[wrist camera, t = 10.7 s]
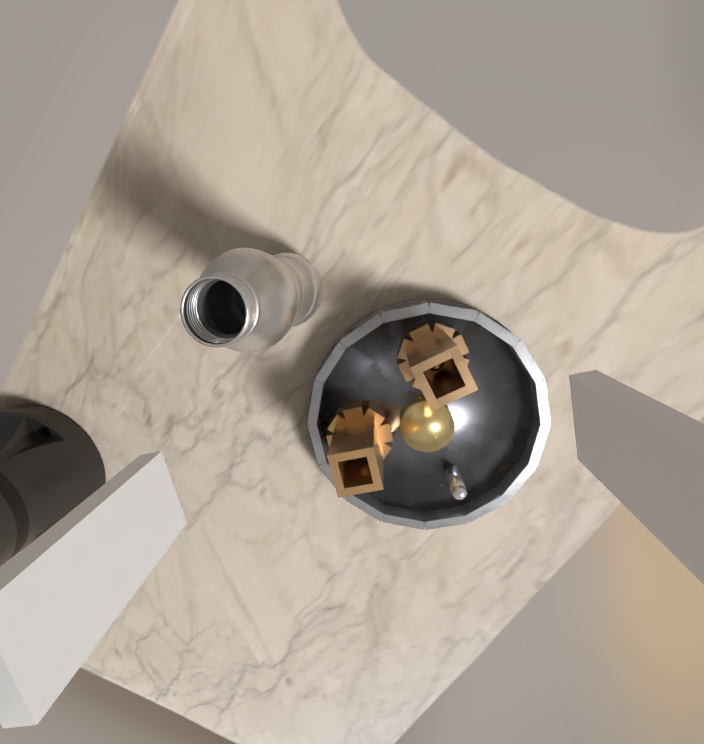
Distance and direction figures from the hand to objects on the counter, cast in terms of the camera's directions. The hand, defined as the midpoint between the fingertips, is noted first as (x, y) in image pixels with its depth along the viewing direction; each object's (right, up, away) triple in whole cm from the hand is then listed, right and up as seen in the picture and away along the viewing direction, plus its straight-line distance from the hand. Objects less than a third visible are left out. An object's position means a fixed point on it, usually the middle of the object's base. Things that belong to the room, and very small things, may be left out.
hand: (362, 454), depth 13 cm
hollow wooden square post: (0, -3, +29) cm, 29 cm away
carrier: (+7, -2, +30) cm, 31 cm away
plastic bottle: (-6, +11, +28) cm, 30 cm away
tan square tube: (+7, +4, +27) cm, 28 cm away
